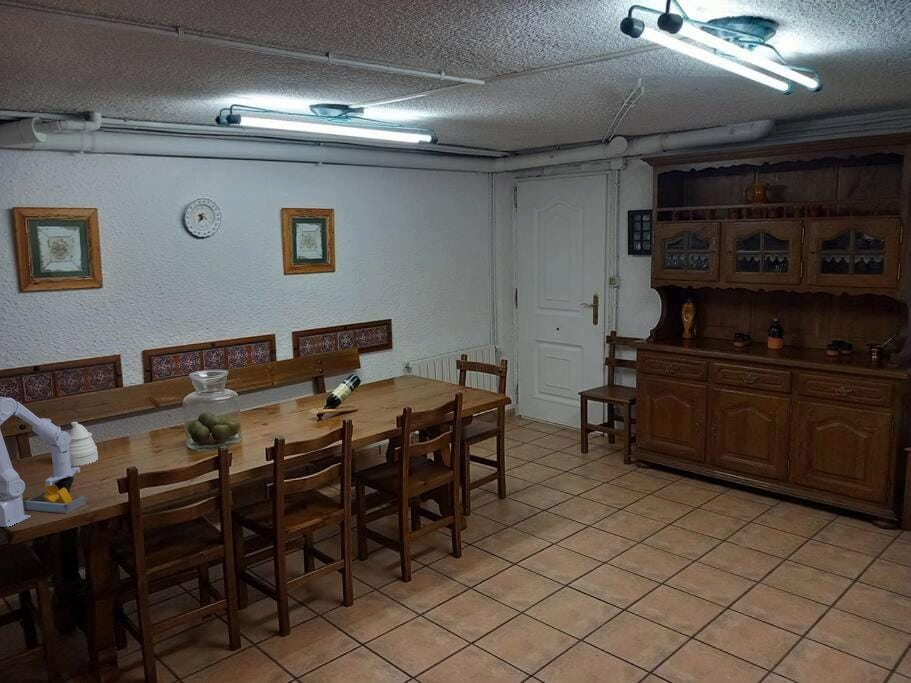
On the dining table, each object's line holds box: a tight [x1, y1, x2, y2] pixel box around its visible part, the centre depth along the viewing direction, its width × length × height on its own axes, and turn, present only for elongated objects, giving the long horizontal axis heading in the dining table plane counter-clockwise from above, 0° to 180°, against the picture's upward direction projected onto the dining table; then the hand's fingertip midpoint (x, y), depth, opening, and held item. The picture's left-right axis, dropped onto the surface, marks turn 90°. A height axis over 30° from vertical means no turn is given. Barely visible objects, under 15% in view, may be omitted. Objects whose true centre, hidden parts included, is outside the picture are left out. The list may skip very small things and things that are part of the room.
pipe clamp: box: [43, 483, 74, 504], centre depth 256 cm, size 12×4×6 cm, turn 54°
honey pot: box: [69, 421, 99, 467], centre depth 305 cm, size 13×13×18 cm
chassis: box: [23, 492, 86, 514], centre depth 255 cm, size 9×18×3 cm, turn 77°
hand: (65, 497), depth 260 cm, fingers closed
